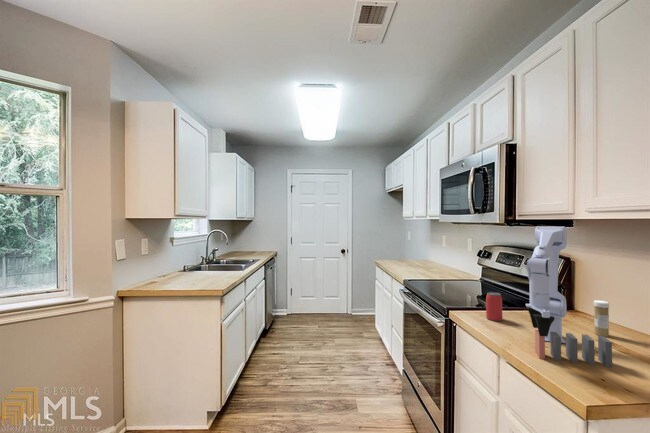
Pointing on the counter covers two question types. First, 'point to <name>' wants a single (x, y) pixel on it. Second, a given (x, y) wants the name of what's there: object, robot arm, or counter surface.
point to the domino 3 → (588, 349)
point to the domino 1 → (555, 346)
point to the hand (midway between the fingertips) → (539, 331)
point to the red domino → (539, 345)
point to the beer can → (494, 306)
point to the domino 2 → (571, 348)
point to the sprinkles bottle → (601, 318)
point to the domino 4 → (605, 351)
